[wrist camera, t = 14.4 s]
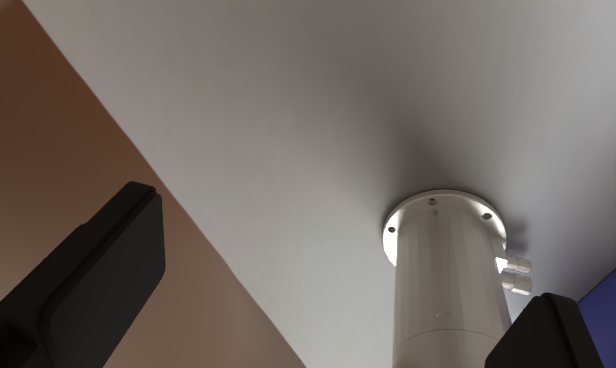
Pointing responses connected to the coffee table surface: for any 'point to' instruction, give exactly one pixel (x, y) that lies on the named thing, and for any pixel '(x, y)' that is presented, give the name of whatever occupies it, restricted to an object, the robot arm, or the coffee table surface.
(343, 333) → the coffee table surface
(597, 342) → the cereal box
